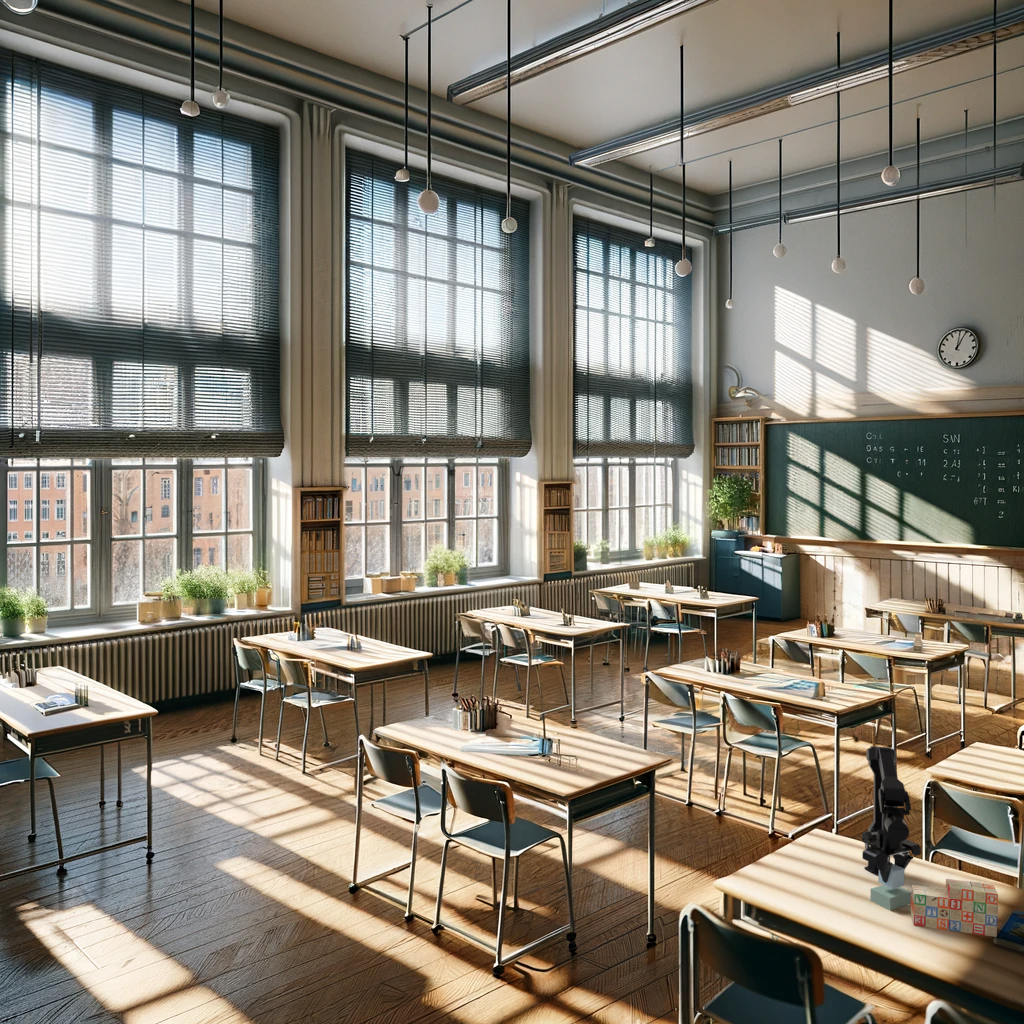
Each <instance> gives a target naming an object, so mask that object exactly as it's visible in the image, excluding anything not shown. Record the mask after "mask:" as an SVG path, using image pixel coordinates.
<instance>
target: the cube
mask: <svg viewBox="0 0 1024 1024" xmlns="http://www.w3.org/2000/svg"><path fill="white" fill-rule="evenodd" d="M905 870H906V868H905V869H904V868H901V867H899V866H897V865H895V863H892V867H891V871H890V874H889V878H888V881H887V883H885V882H883V880H882V877H881V874H880V871H879V875H878V878H877V880H878V884H881V885H885V886H887V887H889V888H891V889H894V888H898V887H904V886H905Z"/></svg>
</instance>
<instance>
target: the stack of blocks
mask: <svg viewBox="0 0 1024 1024" xmlns="http://www.w3.org/2000/svg"><path fill="white" fill-rule="evenodd" d="M910 889H911V891H910V892H911V905H910V918H911V921H912V924H913V926H918V927H926V928H931V929H937V930H938V929H939V930H945V931H951V932H961V933H966V934H967V933H968V934H972V935H973V934H974V935H978V936H979V935H981V936H987V937H995V938H997V935H998V915H999V904H998V903H999V892H998V891H997V889H996V887H995V885H994V884H988V883H982V882H977V881H968V880H961V879H959V880H958V879H951V878H945V888H941V887H940V888H939V887H935V886H934V887H931V886H924V885H916V884H911V888H910Z"/></svg>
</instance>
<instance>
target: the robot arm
mask: <svg viewBox="0 0 1024 1024" xmlns="http://www.w3.org/2000/svg"><path fill="white" fill-rule="evenodd" d="M865 752H866V753H865V756H866V758H865V759H866V761H868V762H867V763H868V767H869V768H870V770H871V772H872V773H873V821H872V822H871V823H870V824H869V826H868V828H867V829H868V830H867V831H863V832H861V833H862V834H861V840H862V842H863V844H864V850H863V851H862V858H861V859H862V860H865V861H866V862H867V866H864V870H866V871H868V872H870V873H872V874H874V873H875V874H874V875H876V876H879V871H880V874H881V877H882V880H883V882H885V883H887V881H888V878H889V874H890V871H891V867H892V864H893V862H891V857H893V859H894V864H895V865H897V866H899V867H901V868H904V869H905V870H906V869H907V867H908V866H909V864H910V863H911V861H912V860H914V857H916V856H919V855H921V854H922V848H921V846H920V845H919V843H917V842H914V841H913V840H910V839H908V838H909V835H910V829H909V827H908V825H907V823H906V821H905V816H910V812H911V811H912V808H911V807H912V805H911V800H910V798H911V797H910V795H909V793H908V791H907V790H906V788H905V785H904V783H903V782H902V781H900V780H899V778H898V774H897V768H896V764H895V763H897V750H896V749H894V748H891V747H890V746H877V745H875V746H873V745H872V746H870V747H869V748H867V749H866V751H865ZM910 851H911V854H912V855H911V854H910Z"/></svg>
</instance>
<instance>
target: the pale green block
mask: <svg viewBox="0 0 1024 1024" xmlns="http://www.w3.org/2000/svg"><path fill="white" fill-rule="evenodd" d="M869 900H870V902H871V903H873V902H874V904H875V903H876V904H875V905H878V906H879V905H880V907H881V906H882V908H883V907H884V908H883V909H886V910H888V911H889V910H891V911H893V909H894V910H897V909H900V908H899V907H901V908H903V907H902V906H904V907H906V906H905V905H907V906H909V905H908V904H911V891H910V890H908V889H906V888H904V887H903V886H901V887H898V888H894V889H891V888H889V887H887V886H885V885H883V884H881V885H878V886H875V887H872V888H870V899H869ZM896 908H897V909H896Z"/></svg>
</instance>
